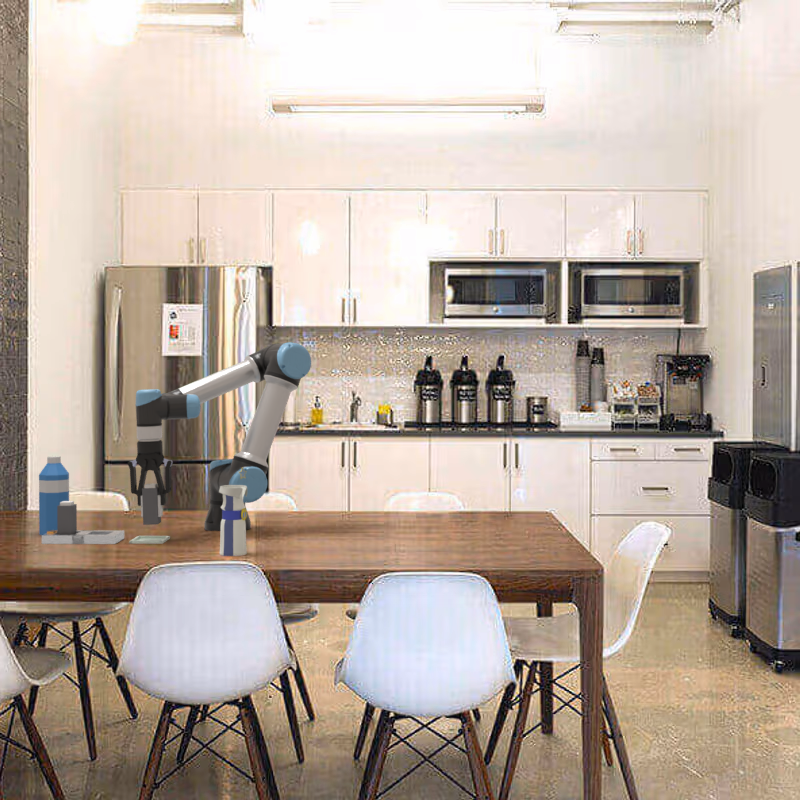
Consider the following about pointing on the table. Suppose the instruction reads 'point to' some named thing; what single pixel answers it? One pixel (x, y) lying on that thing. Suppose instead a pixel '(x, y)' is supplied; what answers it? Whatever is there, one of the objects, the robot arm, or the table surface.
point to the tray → (149, 540)
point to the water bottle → (52, 493)
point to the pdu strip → (84, 537)
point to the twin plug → (67, 518)
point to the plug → (150, 504)
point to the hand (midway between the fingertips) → (152, 516)
